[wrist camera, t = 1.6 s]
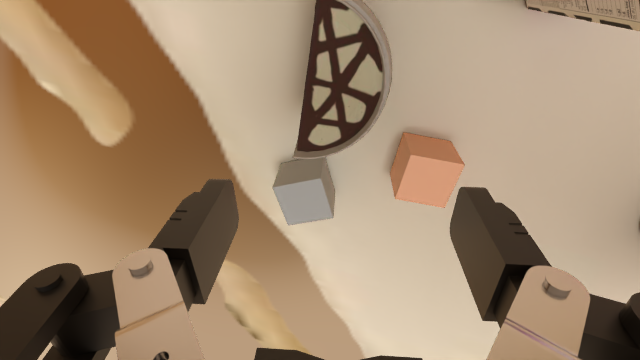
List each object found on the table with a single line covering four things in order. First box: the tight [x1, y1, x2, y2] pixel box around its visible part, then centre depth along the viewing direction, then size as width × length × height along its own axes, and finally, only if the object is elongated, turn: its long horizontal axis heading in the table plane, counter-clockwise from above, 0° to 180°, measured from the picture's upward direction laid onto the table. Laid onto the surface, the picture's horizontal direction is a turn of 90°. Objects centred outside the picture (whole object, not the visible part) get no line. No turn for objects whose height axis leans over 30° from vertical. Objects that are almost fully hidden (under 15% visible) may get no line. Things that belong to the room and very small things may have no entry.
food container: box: [293, 0, 392, 159], centre depth 26 cm, size 12×6×10 cm, turn 171°
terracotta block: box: [390, 133, 465, 208], centre depth 33 cm, size 5×5×5 cm
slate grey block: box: [273, 157, 335, 225], centre depth 36 cm, size 5×5×5 cm
